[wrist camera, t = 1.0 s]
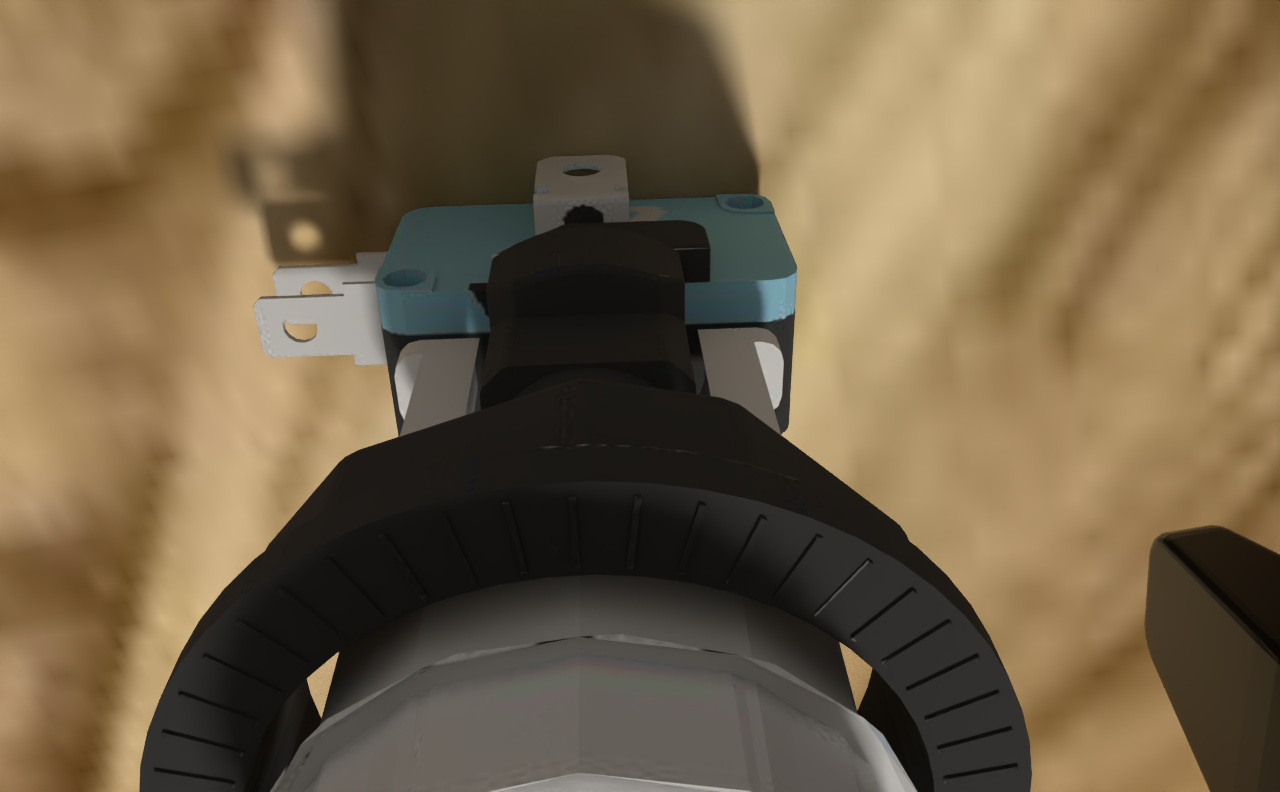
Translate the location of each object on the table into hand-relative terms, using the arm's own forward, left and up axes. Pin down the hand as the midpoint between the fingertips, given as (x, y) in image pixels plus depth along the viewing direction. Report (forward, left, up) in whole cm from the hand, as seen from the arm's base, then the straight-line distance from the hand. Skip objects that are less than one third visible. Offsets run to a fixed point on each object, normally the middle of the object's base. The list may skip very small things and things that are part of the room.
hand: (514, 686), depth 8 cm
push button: (0, 0, -8) cm, 8 cm away
